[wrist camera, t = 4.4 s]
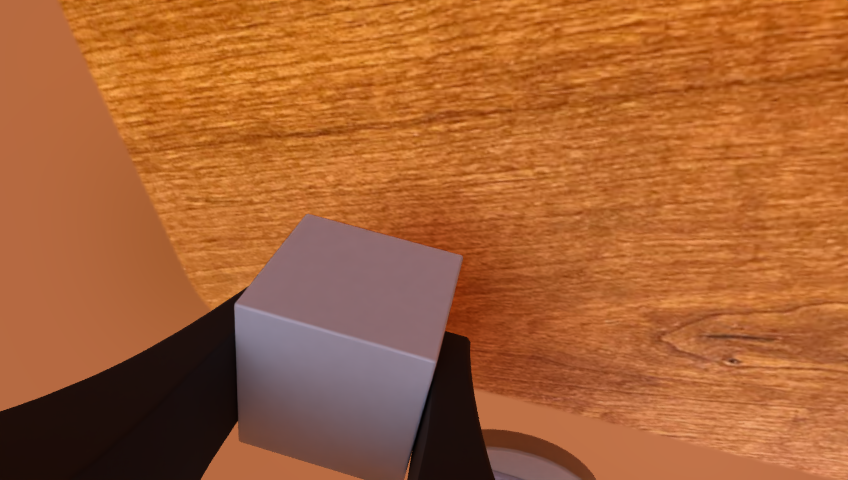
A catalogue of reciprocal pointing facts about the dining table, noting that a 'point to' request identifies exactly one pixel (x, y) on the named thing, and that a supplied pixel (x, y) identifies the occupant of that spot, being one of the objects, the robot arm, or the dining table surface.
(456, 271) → the cube
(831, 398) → the dining table surface
